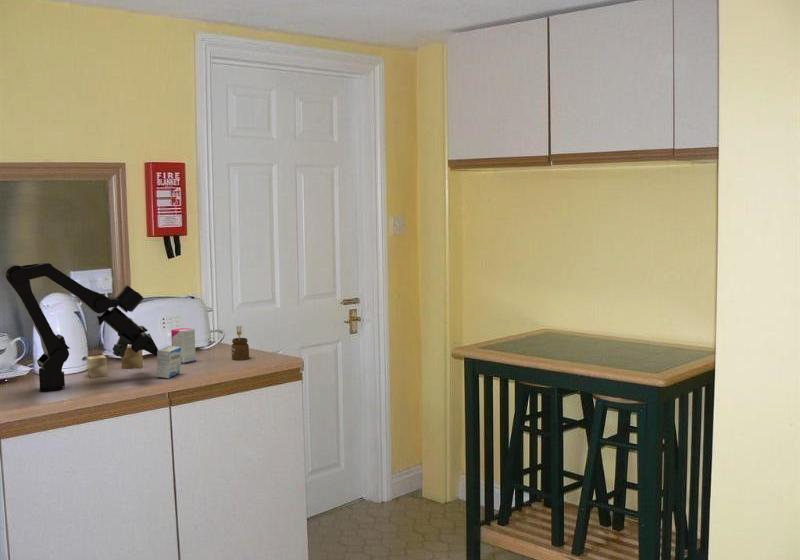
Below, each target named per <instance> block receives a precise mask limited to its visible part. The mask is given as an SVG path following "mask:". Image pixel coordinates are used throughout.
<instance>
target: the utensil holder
mask: <svg viewBox="0 0 800 560" xmlns="http://www.w3.org/2000/svg"><path fill="white" fill-rule="evenodd" d="M244 331H245V330H244V328H243V326H241V325H240V326H236V335H237V337H236V338H232V340H231V341H232V345H231V358H232V360H234V361H245V360H248V359H249V358H250V349H249V348H250V347H249V343H248V341H249V340H248V338H247V337H242V336H244Z"/></svg>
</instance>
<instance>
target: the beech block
mask: <svg viewBox="0 0 800 560" xmlns="http://www.w3.org/2000/svg"><path fill="white" fill-rule="evenodd" d="M86 359H87V360H86V361H87V362H86V363H87V376H88V375H89V376H90V377H91V378H90V377H89V376H88V377H89V378H90V379H93V378H92V377H94V378H101V376H103V377H108V363H107V357H106V356H105V355H104V354H101V355H90V356H87V357H86Z"/></svg>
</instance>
